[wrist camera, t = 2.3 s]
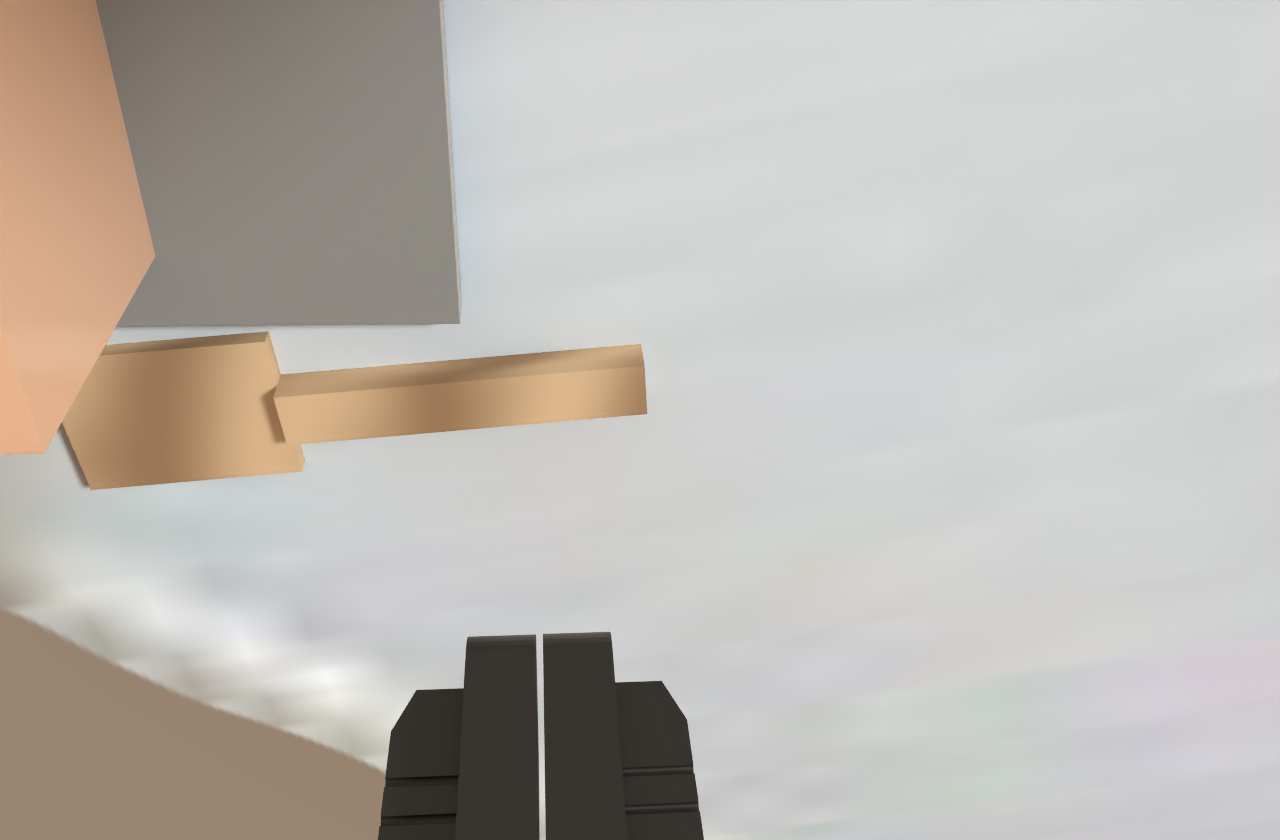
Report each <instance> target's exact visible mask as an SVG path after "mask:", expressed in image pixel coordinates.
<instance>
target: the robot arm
mask: <svg viewBox="0 0 1280 840" xmlns="http://www.w3.org/2000/svg"><path fill="white" fill-rule="evenodd" d="M543 664H544V735H545V805H546V840H704V837H703V830H702V823H701V816H700V811H699V807H698V795H697V788H696V781H695V774H694V772H693V760H692V753H691V745H690V738H689V731H688V724H687V719H686V718H685V716H684V715H683V713H682V711H681V710H680V708H679V707H678V705H677V704H676V702H675V701H674V699H673V698H672V696H671V695H670V693H669V692H668V690H667V689H666V687H665V685H664V684H663V682H662V681H647V682H619V683H615V676H614V663H613V651H612V640H611V633H610V632H593V633H562V634H543ZM385 779H386V786H385V788H384V794H383V802H382V810H381V826H380V827H379V836H378V840H539V750H538V702H537V659H536V635H510V636H479V637H468V638H467V645H466V660H465V677H464V688H463V689H435V690H416V692H415V693H414V695H413V697H412V698H411V700H410V702H409V703H408V705H407V706H406V708H405V710H404V711H403V713H402V715H401V716H400V718H399V719H398V721H397V723H396V724H395V726H394V728H393V729H392V731H391V736H390V744H389V753H388V761H387V769H386V777H385Z"/></svg>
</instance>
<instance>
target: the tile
mask: <svg viewBox="0 0 1280 840" xmlns="http://www.w3.org/2000/svg"><path fill="white" fill-rule="evenodd" d="M154 258H155V252H154V248H153V244H152V239H151V235H150V231H149V227H148V222H147V218H146V214H145V209H144V205H143V201H142V197H141V192H140V188H139V184H138V180H137V175H136V171H135V167H134V162H133V158H132V154H131V150H130V145H129V141H128V137H127V132H126V128H125V124H124V120H123V115H122V111H121V107H120V102H119V98H118V94H117V90H116V85H115V81H114V77H113V73H112V68H111V64H110V60H109V55H108V51H107V47H106V43H105V38H104V34H103V30H102V25H101V21H100V17H99V13H98V8H97V4H96V0H0V454H44V453H45V451H46V449H47V447H48V446H49V444H50V442H51V440H52V438H53V437H54V435H55V433H56V431H57V430H58V428H59V426H60V424H61V423H62V421H63V419H64V417H65V415H66V414H67V412H68V410H69V408H70V407H71V405H72V403H73V401H74V400H75V398H76V396H77V394H78V392H79V391H80V389H81V387H82V385H83V384H84V382H85V380H86V378H87V377H88V375H89V373H90V371H91V369H92V368H93V366H94V364H95V362H96V361H97V359H98V357H99V355H100V354H101V352H102V350H103V348H104V346H105V345H106V343H107V341H108V339H109V338H110V336H111V334H112V332H113V330H114V329H115V327H116V325H117V323H118V322H119V320H120V318H121V316H122V315H123V313H124V311H125V309H126V307H127V306H128V304H129V302H130V300H131V299H132V297H133V295H134V293H135V292H136V290H137V288H138V286H139V284H140V283H141V281H142V279H143V277H144V276H145V274H146V272H147V270H148V269H149V267H150V265H151V263H152V261H153V260H154Z"/></svg>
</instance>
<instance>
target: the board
mask: <svg viewBox="0 0 1280 840" xmlns="http://www.w3.org/2000/svg"><path fill="white" fill-rule="evenodd" d="M96 4H97V8H98V13H99V17H100V21H101V25H102V30H103V34H104V38H105V43H106V47H107V51H108V55H109V60H110V64H111V68H112V73H113V77H114V81H115V85H116V90H117V94H118V98H119V102H120V107H121V111H122V115H123V120H124V124H125V128H126V132H127V137H128V141H129V145H130V150H131V154H132V158H133V162H134V167H135V171H136V175H137V180H138V184H139V188H140V192H141V197H142V201H143V205H144V209H145V214H146V218H147V222H148V227H149V231H150V235H151V239H152V244H153V248H154V252H155V258H154V260H153V261H152V263H151V265H150V267H149V269H148V270H147V272H146V274H145V276H144V277H143V279H142V281H141V283H140V284H139V286H138V288H137V290H136V292H135V293H134V295H133V297H132V299H131V300H130V302H129V304H128V306H127V307H126V309H125V311H124V313H123V315H122V316H121V318H120V320H119V322H118V323H117V325H116V327H145V326H259V325H373V324H460V316H461V305H462V303H461V287H460V271H459V255H458V239H457V223H456V206H455V190H454V174H453V158H452V142H451V126H450V110H449V93H448V77H447V61H446V45H445V29H444V13H443V0H96Z"/></svg>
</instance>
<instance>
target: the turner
mask: <svg viewBox="0 0 1280 840" xmlns="http://www.w3.org/2000/svg"><path fill="white" fill-rule="evenodd" d="M640 414H647V403H646V386H645V369H644V360H643V354H642V347H641V344H637V345H625V346H613V347H602V348H590V349H578V350H566V351H554V352H543V353H531V354H519V355H507V356H496V357H484V358H472V359H460V360H448V361H437V362H425V363H413V364H401V365H389V366H378V367H366V368H354V369H342V370H331V371H319V372H307V373H295V374H283V375H281V374H280V371H279V367H278V364H277V360H276V356H275V353H274V349H273V346H272V342H271V339H270V335H269V332H256V333H244V334H232V335H220V336H208V337H196V338H184V339H172V340H160V341H149V342H137V343H125V344H113V345H105V346H104V348H103V350H102V352H101V354H100V355H99V357H98V359H97V361H96V362H95V364H94V366H93V368H92V369H91V371H90V373H89V375H88V377H87V378H86V380H85V382H84V384H83V385H82V387H81V389H80V391H79V392H78V394H77V396H76V398H75V400H74V401H73V403H72V405H71V407H70V408H69V410H68V412H67V414H66V415H65V417H64V419H63V421H62V424H63V426H64V428H65V431H66V433H67V435H68V438H69V440H70V442H71V445H72V447H73V449H74V452H75V454H76V456H77V459H78V461H79V463H80V466H81V468H82V470H83V473H84V475H85V477H86V480H87V482H88V484H89V487H90V489H91V490H96V489H108V488H119V487H130V486H142V485H153V484H164V483H176V482H187V481H199V480H210V479H221V478H233V477H244V476H255V475H267V474H278V473H289V472H301V471H302V469H303V465H304V461H305V459H304V456H303V452H302V449H301V445H300V444H307V443H319V442H330V441H342V440H353V439H365V438H376V437H388V436H399V435H411V434H422V433H434V432H445V431H456V430H468V429H479V428H491V427H502V426H514V425H525V424H537V423H548V422H560V421H571V420H583V419H594V418H606V417H617V416H628V415H640Z"/></svg>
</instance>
